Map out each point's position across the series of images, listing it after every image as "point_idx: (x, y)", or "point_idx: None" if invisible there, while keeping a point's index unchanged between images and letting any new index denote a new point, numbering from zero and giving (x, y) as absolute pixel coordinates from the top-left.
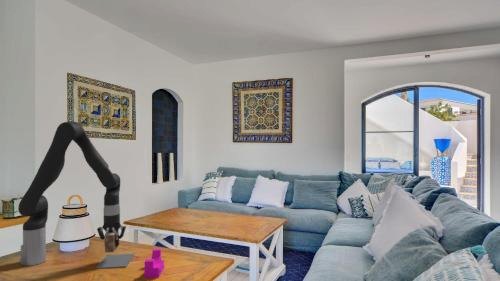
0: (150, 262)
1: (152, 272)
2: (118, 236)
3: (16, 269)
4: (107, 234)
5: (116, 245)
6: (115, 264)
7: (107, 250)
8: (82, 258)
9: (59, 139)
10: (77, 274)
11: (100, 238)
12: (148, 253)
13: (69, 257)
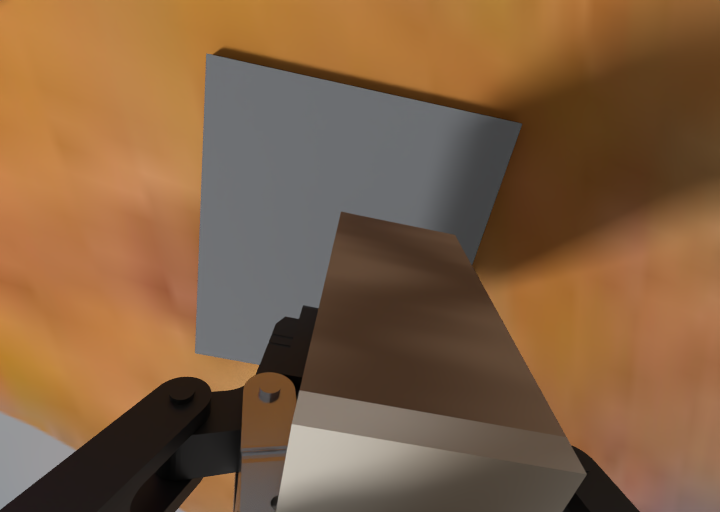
0: None
1: None
2: (235, 444)
3: None
4: (494, 448)
5: (303, 317)
6: (327, 145)
7: (424, 237)
8: (614, 400)
9: None
10: (696, 33)
11: (596, 464)
12: (81, 335)
13: (705, 446)
